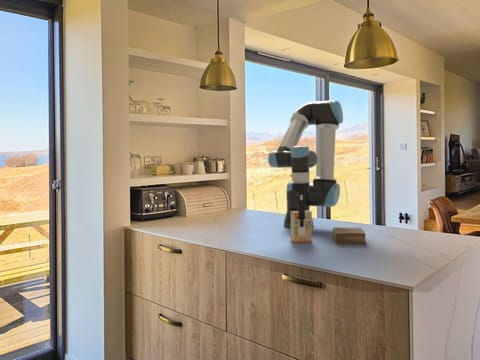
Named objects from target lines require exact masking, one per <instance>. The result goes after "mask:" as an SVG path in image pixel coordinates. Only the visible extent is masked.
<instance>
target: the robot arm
mask: <svg viewBox="0 0 480 360" xmlns="http://www.w3.org/2000/svg"><path fill="white" fill-rule="evenodd" d="M343 121H344V113H343V109H342V105H341V103H340V101H338V100H330V99H329V100H324V101H323V100H322V101H313V102H311V101H310V102H307V103H305V104H303V105H301V106H299V108H298V109H296V110H295V111H294V112H293V114H292V115H291V118H290V121H289V122H290V123H289V127H288V128H287V130H286V132H285V134H284V135H283V137H282V140H281V141H280V144H279V145H278V148H277V150H276V151H275V150H274V151H270V152H269V154H268V157H267V161H268V164H269V167H271V168H276V169H279V168H280V169H281V168H289V169H290V168H291V174H290V178H291V182H289V183H287V184H286V191H285V192H286V213H285V216H284V220H283V227H286V228H290V229H291V211H298V212H299V217H297V219H298V234H299V235H305V211H310V207H325V208H328V207H329V208H330V207H335V206H337V203H338V202H339V198H340V196H341V195H340V193H341V186H340V184H339V183H337V179H336V178H335V177H334V173H335V156H336V155H335V154H336V153H335V150H336V131H337V130H339V128H340V125H341V124H343ZM311 125H315V128H316V129H317V130H318V134H317V137H318V138H317V151H316V152H317V153H316V152H315V151H314V150H310V148H309V146H308V145H299V146H298V144H299V141H300V140H301V138H302V135H303V133H304V131H305V130H306V129H307V128H308V127H309V126H311ZM315 166H316V176H315V177H314V178H313V179H312V182H311V183H310V178H311V177H310V168H313V167H315ZM312 227H314V220H313V218H312Z"/></svg>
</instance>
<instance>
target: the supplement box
mask: <svg viewBox="0 0 480 360" xmlns="http://www.w3.org/2000/svg"><path fill="white" fill-rule="evenodd" d="M297 217H299V212H298V211H291V228H290V242H292V243H306V242H310V243H311V242H312V241H313V231H312V230H313V226H312V219H313V212H312V210H311V211H305V235H299V234H298V219H297Z"/></svg>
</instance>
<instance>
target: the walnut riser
mask: <svg viewBox="0 0 480 360" xmlns="http://www.w3.org/2000/svg"><path fill="white" fill-rule="evenodd" d="M332 231H333V233H332V239H333V242H334V244H335V245H361V246H362V245H366V232H365V231H364V230H363V228H362V227H332Z"/></svg>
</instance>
